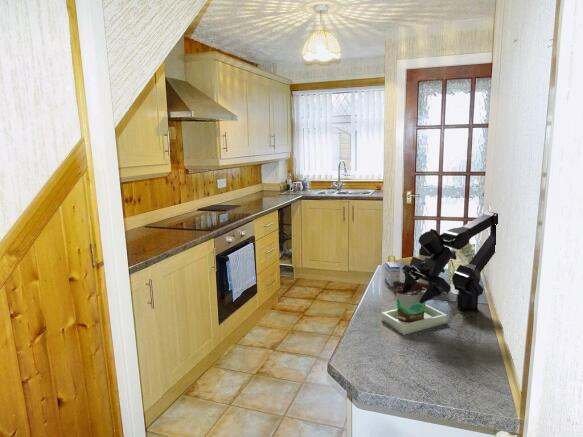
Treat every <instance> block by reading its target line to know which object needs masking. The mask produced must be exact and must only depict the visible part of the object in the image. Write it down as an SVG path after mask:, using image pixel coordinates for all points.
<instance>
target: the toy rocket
mask: <svg viewBox="0 0 583 437" xmlns="http://www.w3.org/2000/svg"><path fill="white" fill-rule="evenodd" d="M393 285H394V286H393V287H397V288H400V287H401V289H396V290H394V292H393V293H394V295H395V296H396V293H399V294H402V293H401V292H402V289H403V285H404V282H402V281H400V282H399V281H394V282H393ZM422 287H424V288H425V289H426V290H427V288H428V284H425V283H421V282H418V281H417V283H416V284H415V285H414V286H413V287H412V288H411V289H410V290H409V291H417V290H421V289H422ZM409 291H408V292H409Z"/></svg>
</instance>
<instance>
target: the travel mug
mask: <svg viewBox="0 0 583 437" xmlns="http://www.w3.org/2000/svg"><path fill="white" fill-rule="evenodd" d="M431 255H432V254H429V253H428V252H427V251H426V250H425V249H424V248H423V246H422V245H421V244H420V247H419V249H418V259H421V260H424V259H425V258H430V257H431ZM418 271H419V270H418ZM419 272H420V271H419ZM417 282H421V283H425V284H428V282H427V281H425V280H422V279H419V280H417Z"/></svg>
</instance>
